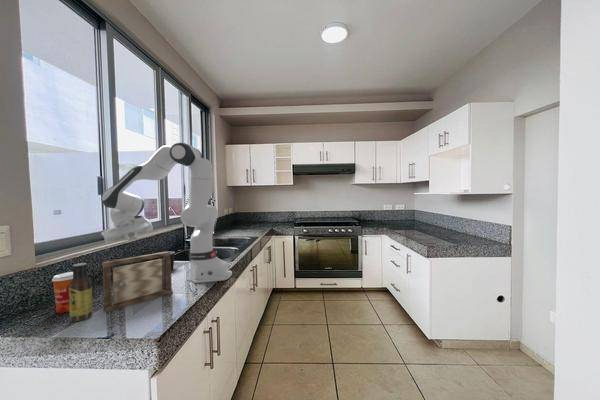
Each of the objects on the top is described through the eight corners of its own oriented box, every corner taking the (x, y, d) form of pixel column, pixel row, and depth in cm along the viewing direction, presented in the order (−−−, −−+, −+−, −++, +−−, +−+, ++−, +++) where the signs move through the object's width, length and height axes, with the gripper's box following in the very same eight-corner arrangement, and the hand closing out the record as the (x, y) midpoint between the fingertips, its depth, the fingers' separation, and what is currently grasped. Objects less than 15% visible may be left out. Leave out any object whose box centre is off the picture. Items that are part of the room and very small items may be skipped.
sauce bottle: (68, 318, 89) (66, 264, 89) (90, 312, 94) (89, 260, 93) (71, 324, 85) (69, 267, 85) (94, 317, 90) (92, 263, 89)
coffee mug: (178, 268, 150) (178, 251, 150) (167, 272, 142) (167, 255, 142) (162, 267, 153) (162, 251, 153) (151, 271, 145) (150, 254, 145)
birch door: (164, 288, 112) (163, 258, 112) (166, 290, 110) (165, 259, 110) (113, 302, 98) (112, 267, 98) (115, 304, 96) (114, 269, 96)
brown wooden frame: (168, 289, 115) (166, 250, 115) (172, 293, 111) (171, 252, 111) (103, 307, 98) (101, 261, 97) (106, 312, 94) (104, 264, 93)
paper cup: (48, 312, 94) (46, 276, 94) (72, 304, 101) (71, 270, 101) (60, 316, 91) (59, 278, 91) (84, 307, 99) (83, 272, 98)
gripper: (98, 226, 117) (104, 242, 109) (146, 214, 131) (155, 227, 123) (102, 236, 121) (108, 253, 113) (148, 223, 134) (157, 237, 126)
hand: (133, 239), depth 118 cm, fingers closed
